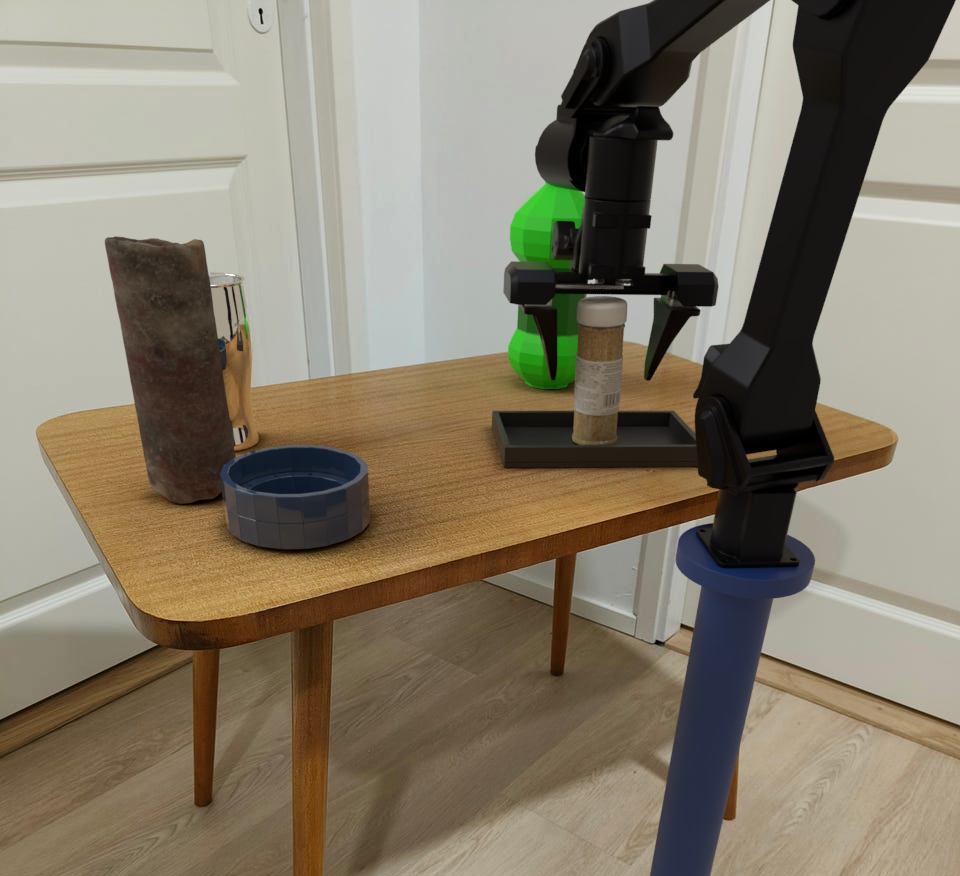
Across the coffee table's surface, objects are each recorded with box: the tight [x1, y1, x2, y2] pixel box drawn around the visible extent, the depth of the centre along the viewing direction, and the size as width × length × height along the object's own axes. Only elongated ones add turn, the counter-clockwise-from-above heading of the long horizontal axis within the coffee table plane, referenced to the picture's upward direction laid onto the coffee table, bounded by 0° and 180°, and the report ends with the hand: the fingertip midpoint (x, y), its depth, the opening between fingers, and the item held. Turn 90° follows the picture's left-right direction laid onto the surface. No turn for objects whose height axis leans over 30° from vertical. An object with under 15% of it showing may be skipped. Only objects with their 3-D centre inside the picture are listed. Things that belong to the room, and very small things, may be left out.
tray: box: [491, 410, 698, 469], centre depth 88 cm, size 11×19×2 cm, turn 95°
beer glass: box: [208, 271, 260, 452], centre depth 83 cm, size 7×7×15 cm
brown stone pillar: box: [104, 235, 236, 505], centre depth 72 cm, size 8×7×20 cm
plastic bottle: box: [507, 182, 588, 390], centre depth 102 cm, size 10×10×25 cm
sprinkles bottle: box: [572, 295, 628, 445], centre depth 85 cm, size 5×5×14 cm
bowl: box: [220, 444, 371, 550], centre depth 70 cm, size 11×11×4 cm
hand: (599, 379), depth 85 cm, fingers open, 9 cm apart
